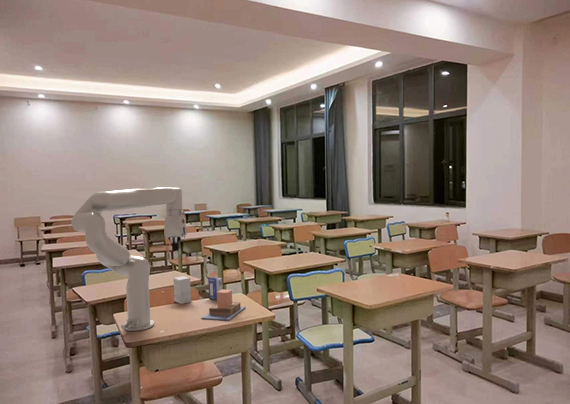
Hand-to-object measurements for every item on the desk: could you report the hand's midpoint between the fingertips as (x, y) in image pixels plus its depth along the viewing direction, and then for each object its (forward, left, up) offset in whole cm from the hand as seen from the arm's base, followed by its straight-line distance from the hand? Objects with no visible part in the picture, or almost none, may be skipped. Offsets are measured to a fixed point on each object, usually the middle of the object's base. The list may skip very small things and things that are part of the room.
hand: (175, 250), depth 198 cm
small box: (+20, +9, -31) cm, 38 cm away
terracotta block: (+6, -22, -28) cm, 36 cm away
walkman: (+28, -7, -31) cm, 43 cm away
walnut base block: (+6, -23, -31) cm, 39 cm away
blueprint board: (+5, -23, -31) cm, 39 cm away
